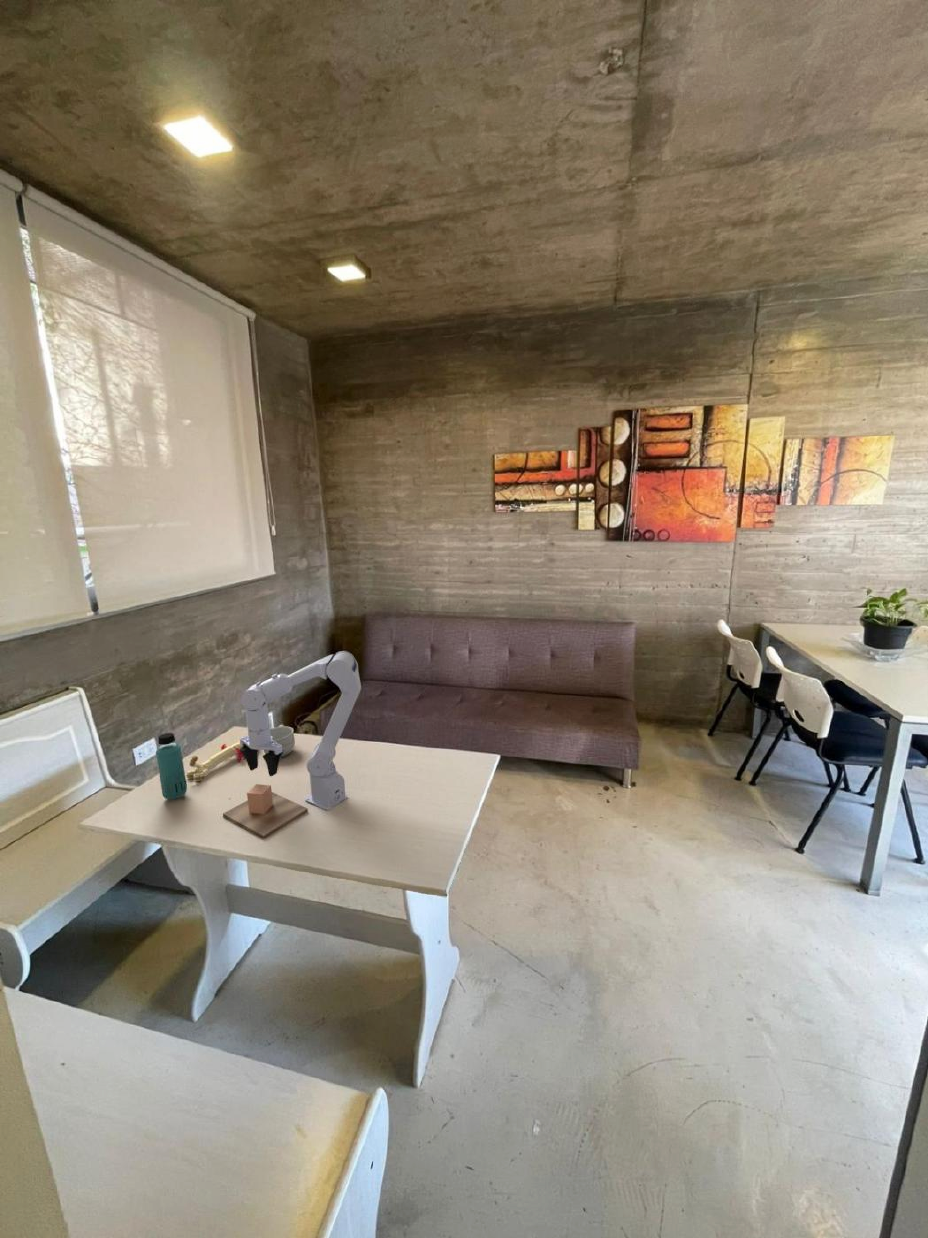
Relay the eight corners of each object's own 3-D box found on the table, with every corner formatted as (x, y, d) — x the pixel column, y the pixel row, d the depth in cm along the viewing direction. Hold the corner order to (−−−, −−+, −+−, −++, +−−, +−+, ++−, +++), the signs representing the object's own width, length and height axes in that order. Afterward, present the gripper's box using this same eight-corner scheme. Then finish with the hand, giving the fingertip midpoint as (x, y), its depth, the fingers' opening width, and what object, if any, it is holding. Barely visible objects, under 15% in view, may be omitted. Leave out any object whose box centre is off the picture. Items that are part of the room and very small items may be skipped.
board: (307, 811, 136) (307, 808, 136) (263, 839, 125) (263, 835, 125) (267, 792, 146) (267, 789, 146) (223, 817, 134) (222, 813, 134)
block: (272, 804, 138) (270, 785, 137) (264, 814, 134) (262, 794, 133) (258, 803, 139) (256, 784, 138) (249, 812, 135) (246, 793, 133)
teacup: (288, 761, 165) (286, 739, 163) (257, 761, 165) (254, 739, 163) (303, 742, 178) (301, 722, 177) (273, 742, 179) (271, 722, 177)
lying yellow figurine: (205, 787, 152) (266, 747, 173) (199, 763, 149) (262, 725, 171) (183, 781, 156) (246, 742, 177) (177, 757, 153) (242, 720, 175)
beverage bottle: (176, 805, 140) (167, 740, 136) (157, 802, 142) (147, 738, 137) (193, 792, 146) (184, 730, 142) (174, 790, 148) (165, 729, 144)
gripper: (288, 726, 137) (292, 770, 140) (252, 717, 143) (256, 760, 146) (269, 736, 131) (273, 782, 134) (231, 727, 137) (236, 771, 140)
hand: (263, 771), depth 140 cm, fingers open, 7 cm apart
